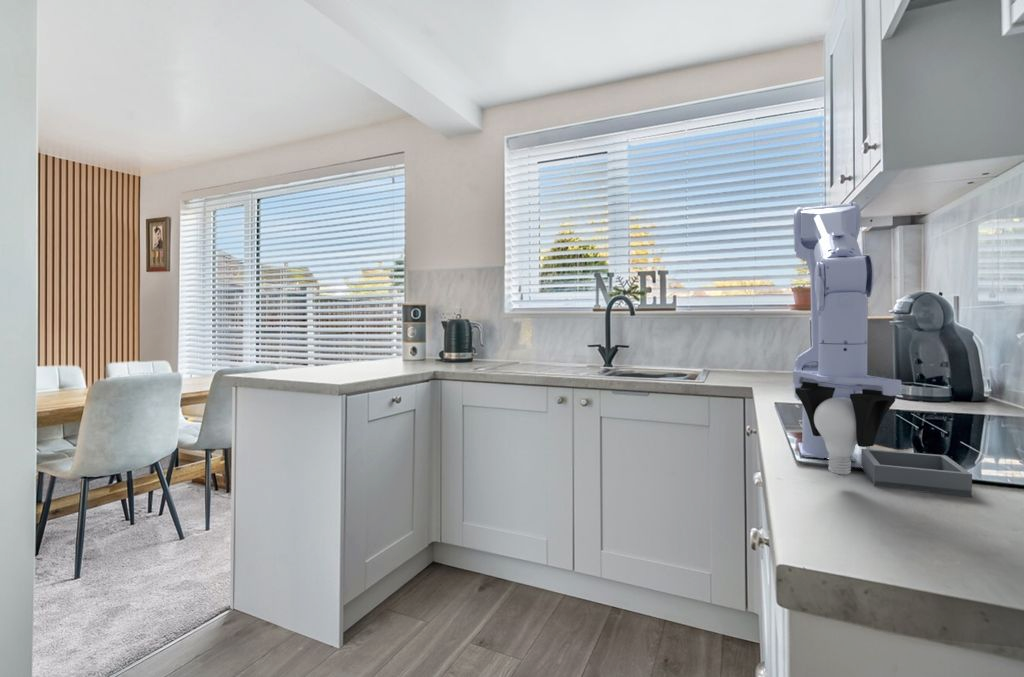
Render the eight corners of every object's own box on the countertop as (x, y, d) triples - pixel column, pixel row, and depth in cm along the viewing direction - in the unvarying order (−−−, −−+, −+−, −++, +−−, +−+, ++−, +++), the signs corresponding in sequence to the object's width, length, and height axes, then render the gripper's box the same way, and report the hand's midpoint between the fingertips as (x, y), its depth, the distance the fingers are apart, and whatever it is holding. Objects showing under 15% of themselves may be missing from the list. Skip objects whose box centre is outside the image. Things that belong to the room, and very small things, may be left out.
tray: (861, 467, 81) (861, 448, 81) (945, 475, 76) (946, 455, 76) (874, 486, 71) (874, 465, 71) (971, 496, 67) (972, 474, 67)
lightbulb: (876, 483, 67) (877, 402, 66) (823, 481, 69) (824, 401, 68) (854, 468, 73) (855, 393, 73) (806, 466, 75) (807, 393, 74)
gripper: (777, 342, 76) (777, 432, 76) (873, 346, 62) (872, 455, 63) (813, 341, 78) (812, 428, 79) (913, 344, 64) (912, 450, 65)
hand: (841, 440), depth 71 cm, fingers closed on lightbulb, 6 cm apart
